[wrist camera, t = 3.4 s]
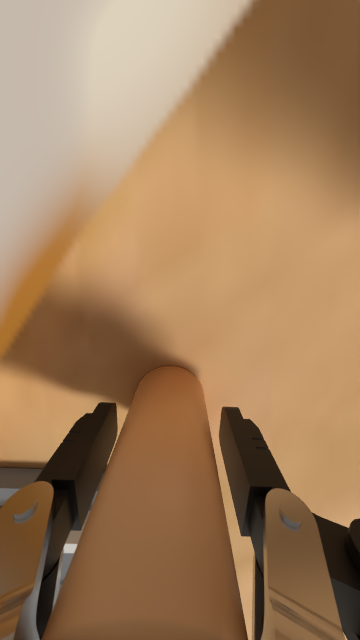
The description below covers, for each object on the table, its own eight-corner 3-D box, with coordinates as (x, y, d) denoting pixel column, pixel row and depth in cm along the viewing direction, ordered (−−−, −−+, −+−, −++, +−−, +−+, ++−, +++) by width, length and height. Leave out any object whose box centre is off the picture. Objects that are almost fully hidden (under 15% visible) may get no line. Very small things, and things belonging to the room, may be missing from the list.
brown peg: (205, 367, 11) (270, 624, 3) (201, 424, 12) (240, 731, 4) (135, 364, 11) (12, 614, 3) (137, 422, 12) (48, 723, 4)
